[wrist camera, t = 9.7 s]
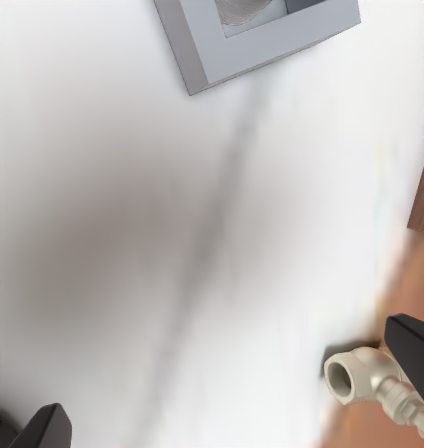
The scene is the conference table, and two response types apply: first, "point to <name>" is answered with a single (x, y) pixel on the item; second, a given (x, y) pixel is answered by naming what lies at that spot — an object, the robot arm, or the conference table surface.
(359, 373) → the valve
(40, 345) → the conference table surface
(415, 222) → the tissue box cover
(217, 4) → the gold-capped bottle
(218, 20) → the grey square hollow block
